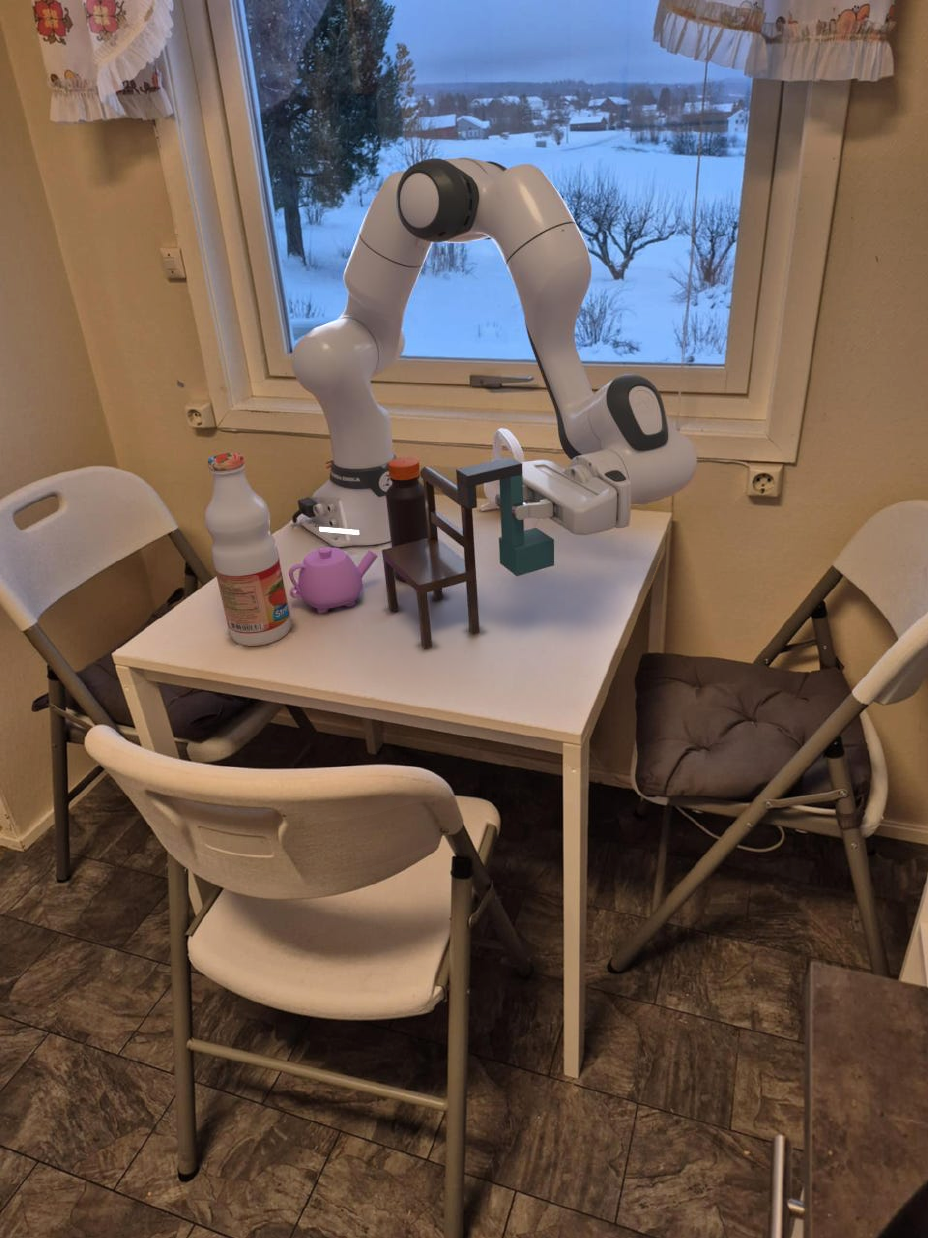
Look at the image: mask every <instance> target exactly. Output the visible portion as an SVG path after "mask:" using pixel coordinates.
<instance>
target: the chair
mask: <svg viewBox="0 0 928 1238" xmlns="http://www.w3.org/2000/svg"><path fill="white" fill-rule="evenodd" d="M420 478H421V479H422V483H423V486H424V494H425V506H426V517H427V528H428V538H426V539H422V540H418V541H415V542H411V543H407V544H403V545H399V546H395V547H392V546H391V547H388V548H384V549H382V550H381V555H382V563H383V571H384V579H385V589H386V596H387V604H388V605H387V607H388V610H389V611H390V613H396V612H398V611H399V602H398V595H397V594H398V593H397V586H396V585H397V583H396V576H395V573H394V570H395V571H396V572H397V573H398V574H399V575H400V576H401V577H402V578H403V579H404V580H405V581H406V582H405V583H407V584H408V585H409V586H410V587H411V588H412V589H413V590H414V591H415V592H416V601H417V602H416V603H417V609H418V611H417V612H418V621H419V630H420V642H421V647H423V649H424V650H428V649H430V648H431V649H432V648H433V640H432V630H431V620H430V617H431V616H430V608H429V597H428V593H432V595H433V598H434V599H435V600H436V601H438V600H441V599H443V598H444V595H443V594H444V593H443V589H445V588H449V587H453V586H456V585H459V584H463V583H465V588H466V604H467V619H468V620H467V621H468V631H469V633H470V634H471V635H476V634H479V633H481V632H480V631H481V630H480V615H479V600H478V584H477V582H478V581H477V570H476V569H477V568H476V567H477V565H476V552H475V551H476V550H475V533H474V516H473V509H468V508H466V507H465V506H464V505H462V504H461V503H459V502H458V491H457V484H455V483H454V482H453V481H450V480H449V479H448V478H446V477H445V476H444V475H442V474H440V473H439V472H438V471H436V470H434V469H433V468H432V467H430V466H424V467H422V468H421V469H420ZM435 489H436V490H437V491H439V492H441V493H442V494H443V495H445V496H446V497H447V498H449V499H450V500H452V501H453V502H454V503H456V504H458V505H459V506H460V513H461V528H462V529H461V528H459V527H458V526H457V525H456V524H454V523H453V522H451V521H450V520H449V519H447V518H446V517H445V516H444V515H442V514H441V513H439V511H437V508H436V497H435ZM438 529H440V530H441V531H442V532H444V533H445V534H446V535H447V536H448V537H450V538H451V539H452V540H454V541H455V542H456V544H458V545H459V546H461V547H462V548H463V558H464V559H463V558H462V557H461V556H460V555H459V554H458V553H456V552H455V551H454V550H452V549H451V548H450V547H449V546H448V545H446V544H445V543H444V542H443V541H441V540H440V539H439V534H438Z"/></svg>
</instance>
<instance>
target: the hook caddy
mask: <svg viewBox="0 0 928 1238" xmlns="http://www.w3.org/2000/svg"><path fill="white" fill-rule="evenodd" d="M455 474H456V485H457V491H458V502H459V503H461V504H462V505H464V506H465V507H466V508H468V509H472V510H473V509H476V508H477V509H478V500H477V497H478V496H477V486H479V485H484V483H488V482H492V481H496V480H499V484H500V507H499V508H500V525H501V526H500V529H501V536H499V537H498V549H499V564H500V565H502V566H503V567H504V568H506V569H507V570H508V571H509V572H510V573H512V574H513V575H515V576H516V577H519V576H523V575H527V574H530V573H533V572H536V571H540V570H543V569H546V568H550V567H554V566H555V539H554V538H552V536H550V535H548V534H547V533H545V532H544V531H542V530H541V529H539V528H538V527H535V528H532V529H529V530H525V531H524V519H522V520H518V519H517V518H515V517H514V516H513V515H512V506H513V505H514V504H518V503H521V502H523V475H522V463H520V462H519V461H517V460H515V459H514V457H511V456H507V457H502V459H499V460H494V461H492V460H490V461H486V462H481V463H477V464H473V465H469V466H464V467H460V468H456V469H455Z"/></svg>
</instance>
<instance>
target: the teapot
mask: <svg viewBox="0 0 928 1238" xmlns="http://www.w3.org/2000/svg"><path fill="white" fill-rule="evenodd" d="M377 558H378V555H377V553H375V552H373V551H372V550H368V551H367V553H366V554H365V555H364V557H363V558H362V559H361V560H360V562H359V563H358V565H356V564H355V562H354V560H353V559H352V558H351V557H350V555H348V554H347V552H346V551H345V550H343V549H341V548H340V547H331V546H323V547H320V548H319V549H316V550H313V551H311V552H308V553H307V554H306V555H305V557H304V559H303V561H302V563H301V562H298V563H295V564H293V565H292V566H291V567H290V568H289V570H288V578H289V580H290V582H291V583H292V585H293V587H291V588H290V590H289V595H290V597H291V598H293V599H299V598H301V599H302V600H303V601H304V602H305V603H307V604H308V605H309V606H311V607H312V608H315V609H316V612H317V613H318V614H325V613H328V612H329V610H330V609H334V608H339V607H342V606H345V607H354V606H355V605H356V604H357V602H356V600H357V599H358V598H359V596H360V595H361V592H362V591H363V577H364V576H365V574H367V572H368V570H370V568H371V566H372V565H373V563H374V562H375V561H376V560H377ZM298 569H300V570H299V573H298V580H296V579H295V576H294V572H295V571H296V570H298ZM294 591H296V593H294Z"/></svg>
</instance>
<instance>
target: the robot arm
mask: <svg viewBox="0 0 928 1238" xmlns="http://www.w3.org/2000/svg"><path fill="white" fill-rule="evenodd" d="M480 240H491V241H492V242H493V243H494V244H495V246H496V248H497V249H498V251H499V253H500V256H501V257H502V260H503V262H504V264H505V266H506V268H507V271H508V273H509V274H510V277H511V279H512V282H513V285H514V286H515V289H516V292H517V295H518V298H519V301H520V305H521V307H522V312H523V318H524V325H525V329H526V334H527V337H528V340H529V344H530V347H531V350H532V353H533V356H534V357H535V360H536V363H537V366H538V368H539V371H540V374H541V377H542V379H543V381H544V385H545V388H546V389H547V392H548V395H549V397H550V400H551V403H552V406H553V409H554V413H555V417H556V423H557V424H556V425H557V433H558V440H559V443H560V445H561V448H562V450H563V452H564V453H565V455H566V456H567V457H568V458H569V460H570V462H569V463H568V466H567V467H565V466H562V465H561V464H559V463H557V462H555V461H553V460H550V459H534V460H527V461H526V460H525V462H520V463H522V475H523V502H521V503H518V504H514V505H513V506H512V515H513V516H514V517H515V518H517V519H518V520H522V519H526V518H539V520H540V519H542V520H544V519H549V520H551V521H552V522H554V523H556V524H557V525H558V526H561V528H563V529H565V530H567V531H568V532H570V533H571V534H574V535H576V536H577V535H578V536H589V535H593V534H594V535H595V534H598V533H603V532H606V531H609V530H612V529H614V528H615V529H623V528H626V527H629V525H630V521H631V513H632V505H633V506H644V505H648V504H651V503H655V502H658V501H661V500H664V499H667V498H670V497H672V496H674V495H676V494H679V493H680V492H682V491H683V490H685V489H686V488H687V487H688V486H689V485H690V484H691V483H692V481H693V479H694V477H695V474H696V471H697V465H698V456H697V451H696V448H695V446H694V443H693V442H692V441H691V440H690V439H689V437H687V436H686V435H684V434H683V433H682V432H680V431H679V430H678V429H677V428H676V426H675V425H674V423H672V421H671V419H670V417H669V416H668V413H667V412H666V409H665V405H664V400H663V398H662V395H661V394H660V393H661V392H660V391H659V390H658V388H657V387H656V385H654V383H652V382H651V381H650V380H649V379H647V378H645V377H644V376H642V375H638V374H635V373H624V374H621V375H617V376H616V377H615V378H614V379H612V380H611V381H609V382H608V383H606V384H605V385H603V386H602V387H601V388H599V389H598V390H597V391H596V392H594V391H593V389H592V387H591V384H590V382H589V379H588V376H587V373H586V370H585V368H584V365H583V363H582V360H581V357H580V354H579V352H578V349H577V345H576V336H575V335H576V333H575V332H576V325H577V321H578V316H579V313H580V310H581V308H582V304H583V301H584V299H585V297H586V295H587V292H588V290H589V287H590V284H591V279H592V274H593V265H592V260H591V255H590V252H589V248H588V246H587V244H586V240H585V238H584V237H583V235H582V233H581V231H580V228H579V227H578V225H577V222H576V221H575V218H574V216H573V215H572V213H571V211H570V209H569V207H568V206H567V203H566V202H565V200H564V199H563V197H562V195H561V194H560V192H559V191H558V190H557V188H556V187H555V186H554V184H553V182H552V181H551V180H550V179H549V178H548V176H547V175H546V174H545V172H544V171H543V170H542V169H541V168H539V167H538V166H536V165H533V164H527V163H522V164H518V165H513V166H511V167H509V168H507V167H506V166H504V165H502V164H500V163H497V162H494V161H490V160H489V161H485V160H481V159H477V158H470V157H458V158H444V159H443V158H439V157H438V158H437V157H431V158H427V159H423V160H421V161H418V162H416V163H414V164H412V165H410V167H408V168H407V169H406V170H405V171H396V172H393V173H391V174H390V175H388V176H387V177H386V178H385V180H384V181H383V183H382V184H381V186H380V188H379V189H378V190H377V192H376V194H375V196H374V198H373V199H372V201H371V204H370V205H369V207H368V209H367V212H366V214H365V215H364V218H363V220H362V222H361V226H360V228H359V231H358V234H357V236H356V239H355V242H354V245H353V248H352V249H351V252H350V256H349V257H348V261H347V264H346V267H345V269H344V272H343V282H344V283H343V284H344V286H345V288H346V290H347V299H346V300H347V301H346V305H345V308H344V311H343V312H342V313H341V315H340V316H339V317H338V318H337V319H335V320H333V321H329V322H327V323H325V324H322V325H319V326H317V327H314V328H312V329H311V330H310V331H309V332H307V333H306V334H305V335H304V336H303V337H302V338H300V339H299V340H298V341H297V342H296V343H295V345H294V347H293V349H292V352H291V357H290V359H291V360H290V362H291V369H292V372H293V374H294V377H295V379H296V381H297V382H298V383H299V385H300V386H301V388H303V389H305V390H306V391H307V392H309V393H310V394H312V395H313V396H314V397H315V399H316V400H317V402H318V404H319V406H320V408H321V410H322V412H323V415H324V417H325V418H324V419H325V421H326V424H327V428H328V434H329V441H330V447H331V452H332V460H329V461H326V462H325V465H326V466H325V469H329V468H330V472H329V479H328V480H326V481H325V483H323V484H322V485H321V486H320V487H319V488H318V489H317V490H316V491H314V492H313V494H312V495H311V497H308V496H307V497H304V498H301V499H298V500H297V505H298V510H297V511H296V512H294V513H293V515H292V516H291V518H292V519H291V520H292V523H294V524H296V523H297V522H298V518H299V516H301V515H304V517H303V518H302V519H301V526H302V527H303V528H305V529H306V530H307V531H308V532H311V533H312V534H314V535H316V536H317V537H318V538H320V539H322V540H323V541H324V542H326V543H328V544H329V545H330V546H331V547H332V548H344V547H353V546H373V545H374V546H375V545H381V544H385V543H390V542H391V537H390V529H389V520H388V511H387V502H386V492H387V490H388V489H389V488H390V486H391V485H392V481H391V480H390V476H389V467H388V463H389V462H390V461H391V460H393V459H397V455H396V454H395V453H394V443H393V432H392V425H391V417H390V415H389V413H388V411H387V410H386V409H385V408H384V407H382V406H381V405H379V404H378V402H377V400H376V398H375V395H374V392H373V389H372V384H371V382H372V380H371V379H372V378H375V377H377V376H379V375H381V374H382V373H385V372H386V371H388V370H389V369H390V368H391V367H393V365H394V364H396V363H397V361H398V360H399V359H400V357H401V356H402V354H403V353H404V350H405V345H406V336H405V332H404V328H403V324H404V318H405V313H406V310H407V306H408V303H409V300H410V298H411V295H412V292H413V291H414V288H415V285H416V283H417V281H418V278H419V276H420V273H421V272H422V269H423V266H424V264H425V261H426V260H427V257H428V255H429V252H430V251H431V250H430V249H431V247H432V246H433V244H434V243H437V244H438V243H450V244H465V243H470V242H474V241H480ZM327 464H328V465H327ZM495 504H496V505H497V506H498V507H499V508H500V493H497V494H496V495H495Z"/></svg>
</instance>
